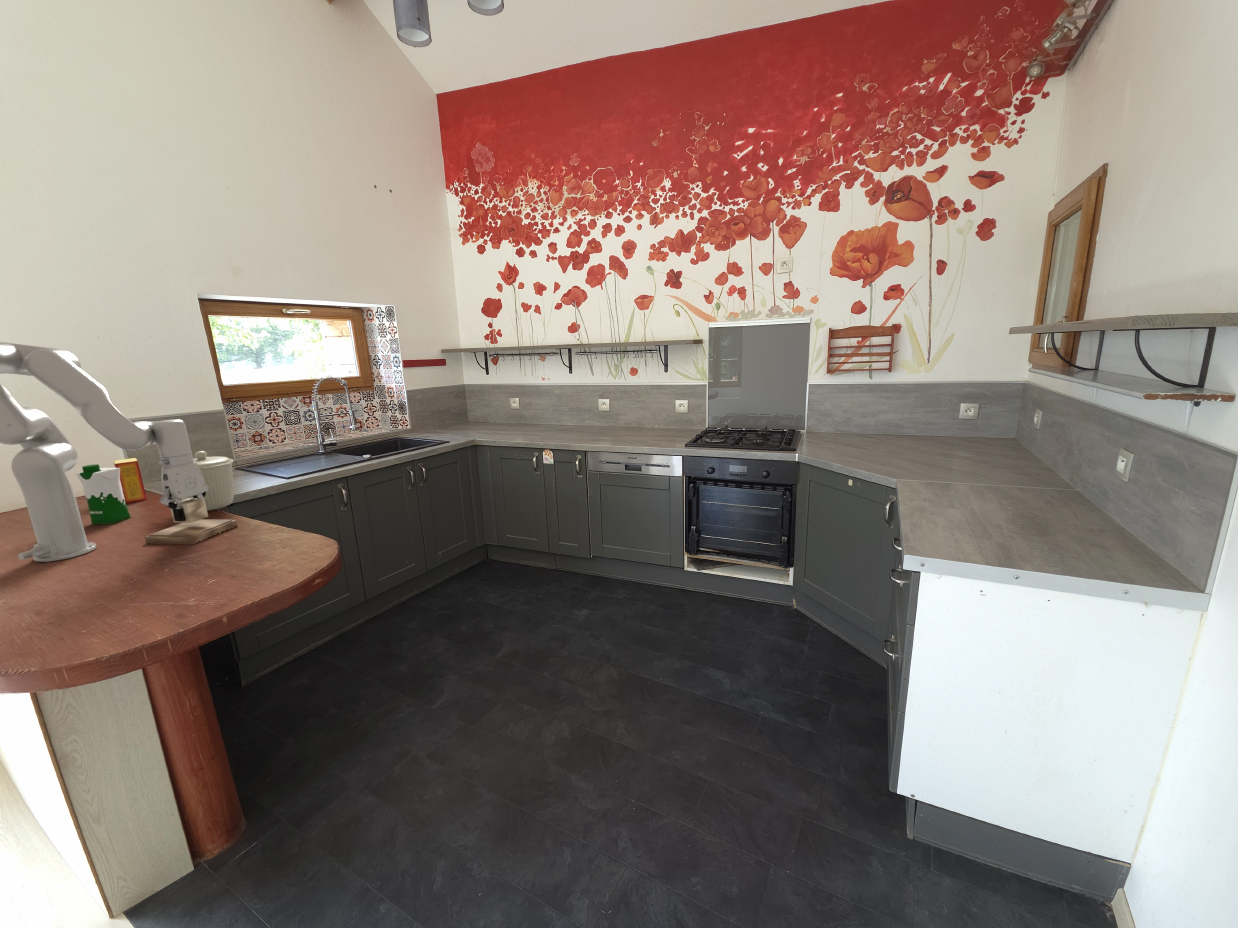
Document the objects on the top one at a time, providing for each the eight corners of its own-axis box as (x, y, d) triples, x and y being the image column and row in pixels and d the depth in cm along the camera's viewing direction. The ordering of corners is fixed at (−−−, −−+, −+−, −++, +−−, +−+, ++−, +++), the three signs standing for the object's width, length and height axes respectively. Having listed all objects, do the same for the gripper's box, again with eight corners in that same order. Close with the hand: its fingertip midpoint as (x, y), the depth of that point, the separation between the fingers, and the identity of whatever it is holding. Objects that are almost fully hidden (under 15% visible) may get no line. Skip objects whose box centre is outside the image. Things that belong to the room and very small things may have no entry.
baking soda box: (122, 499, 209) (112, 459, 206) (144, 495, 214) (135, 456, 210) (124, 503, 203) (114, 463, 199) (146, 499, 207) (137, 459, 204)
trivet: (193, 544, 156) (191, 536, 156) (146, 543, 159) (144, 535, 158) (237, 525, 172) (236, 518, 171) (194, 525, 174) (192, 518, 173)
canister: (209, 516, 183) (196, 456, 179) (167, 514, 187) (153, 456, 182) (253, 500, 201) (243, 446, 196) (214, 499, 204) (203, 446, 200)
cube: (191, 522, 161) (186, 504, 160) (173, 522, 162) (169, 504, 160) (208, 516, 167) (204, 498, 165) (191, 516, 168) (187, 498, 166)
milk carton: (86, 525, 178) (70, 467, 173) (113, 516, 186) (99, 461, 182) (109, 525, 177) (94, 467, 172) (136, 516, 185) (122, 461, 181)
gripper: (160, 467, 151) (175, 526, 155) (213, 454, 168) (224, 508, 172) (138, 467, 152) (152, 526, 156) (192, 454, 169) (204, 508, 173)
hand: (190, 516), depth 164 cm, fingers closed on cube, 6 cm apart
